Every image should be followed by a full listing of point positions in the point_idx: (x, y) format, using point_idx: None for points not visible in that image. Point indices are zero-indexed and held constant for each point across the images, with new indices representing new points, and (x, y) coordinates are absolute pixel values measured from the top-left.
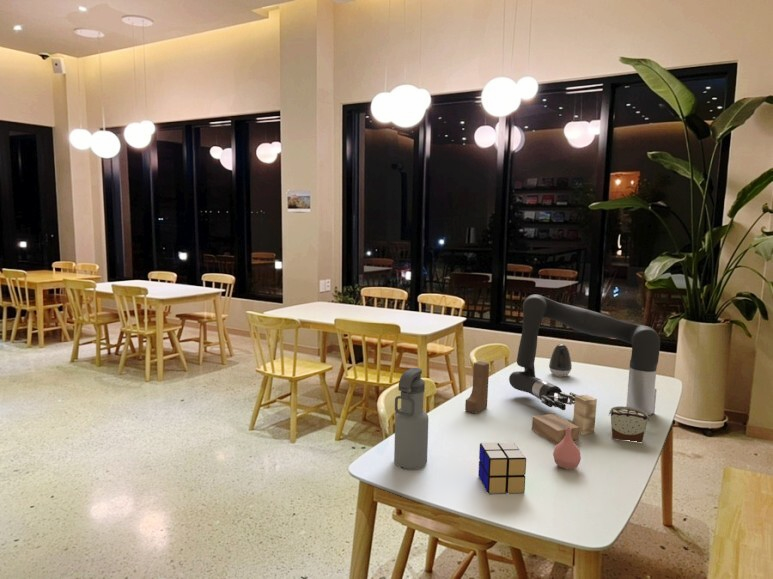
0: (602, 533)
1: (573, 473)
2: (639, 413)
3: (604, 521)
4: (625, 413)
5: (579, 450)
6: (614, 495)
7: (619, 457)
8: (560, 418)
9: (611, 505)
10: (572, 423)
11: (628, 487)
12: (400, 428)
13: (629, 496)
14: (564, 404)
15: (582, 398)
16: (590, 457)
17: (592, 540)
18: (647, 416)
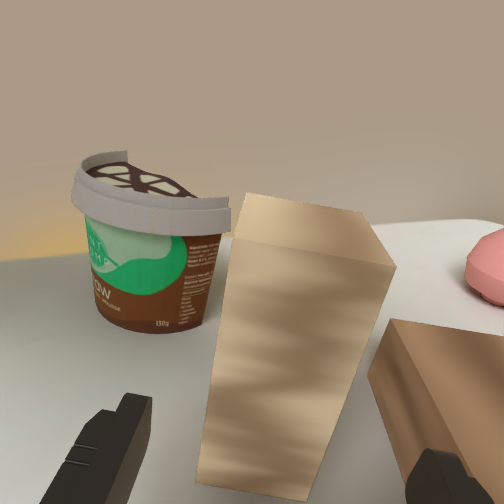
0: (477, 223)
1: None
2: (105, 171)
3: (465, 226)
4: (177, 184)
5: (482, 237)
6: (417, 234)
7: None
8: (476, 445)
9: (437, 231)
10: (410, 356)
11: (375, 232)
12: None
13: (391, 226)
14: (443, 453)
15: (352, 228)
16: (392, 297)
17: (495, 224)
18: (126, 159)
